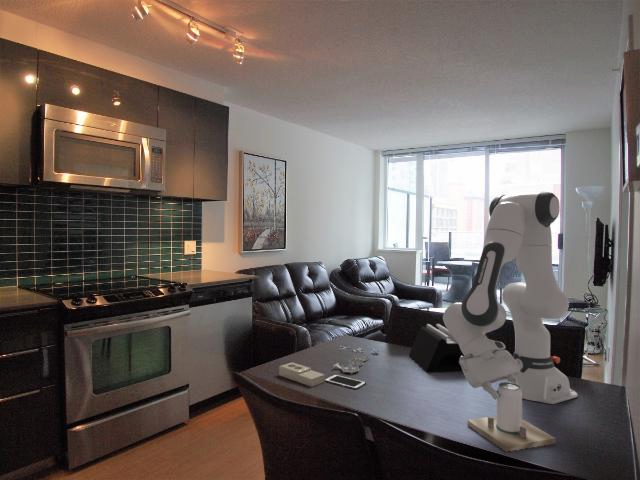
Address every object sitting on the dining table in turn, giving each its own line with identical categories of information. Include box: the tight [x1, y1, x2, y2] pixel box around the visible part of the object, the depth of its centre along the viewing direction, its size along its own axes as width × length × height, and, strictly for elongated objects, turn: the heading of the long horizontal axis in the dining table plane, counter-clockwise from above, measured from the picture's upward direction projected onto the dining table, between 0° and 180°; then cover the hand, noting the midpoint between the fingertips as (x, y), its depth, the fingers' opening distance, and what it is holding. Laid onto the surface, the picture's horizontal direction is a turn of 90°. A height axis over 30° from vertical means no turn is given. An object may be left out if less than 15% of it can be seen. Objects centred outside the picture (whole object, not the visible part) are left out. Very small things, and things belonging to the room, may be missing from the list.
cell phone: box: [324, 374, 367, 391], centre depth 158 cm, size 8×15×1 cm, turn 54°
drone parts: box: [332, 344, 381, 375], centre depth 187 cm, size 23×35×3 cm, turn 152°
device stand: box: [408, 323, 464, 374], centre depth 182 cm, size 22×22×15 cm
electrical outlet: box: [278, 361, 326, 388], centre depth 162 cm, size 7×4×18 cm
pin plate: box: [467, 415, 556, 453], centre depth 119 cm, size 16×16×4 cm
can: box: [496, 381, 523, 433], centre depth 119 cm, size 6×6×12 cm
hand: (508, 394), depth 119 cm, fingers open, 8 cm apart
